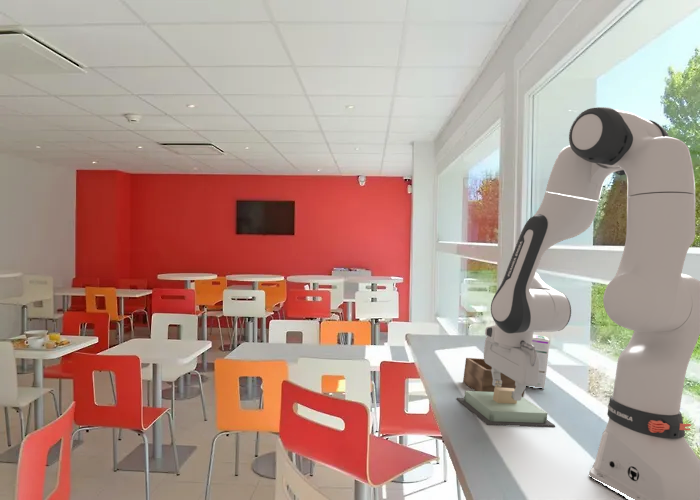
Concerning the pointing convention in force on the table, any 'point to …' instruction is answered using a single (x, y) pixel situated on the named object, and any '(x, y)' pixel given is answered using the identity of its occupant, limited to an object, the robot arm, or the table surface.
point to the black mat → (488, 422)
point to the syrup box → (541, 357)
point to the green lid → (504, 406)
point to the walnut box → (483, 376)
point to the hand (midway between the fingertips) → (505, 393)
